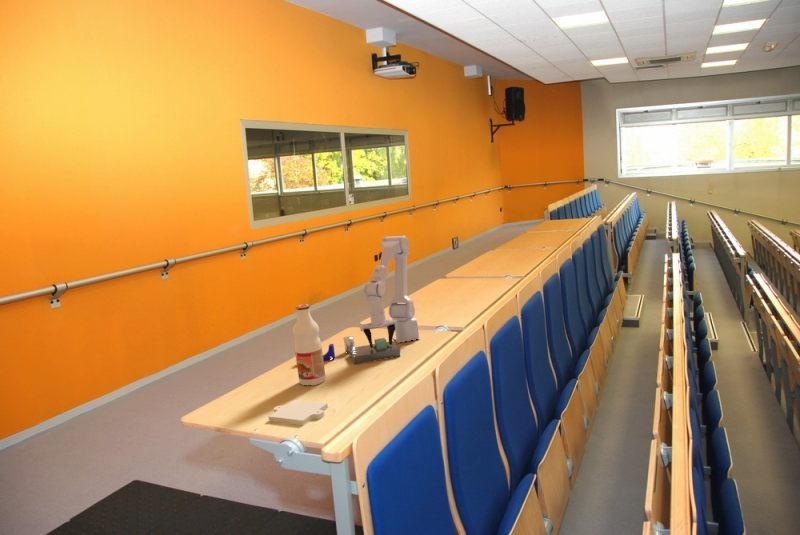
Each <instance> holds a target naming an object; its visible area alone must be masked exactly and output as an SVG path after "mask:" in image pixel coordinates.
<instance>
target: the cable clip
mask: <svg viewBox="0 0 800 535" xmlns="http://www.w3.org/2000/svg"><path fill="white" fill-rule="evenodd" d="M331 358H333V359H332V360H330V359H331ZM335 359H336V354H335V345H334V343H329V345H328V350H327V352H326V353H325V354H323V361H324V362H327V361H326V360H330V361H335Z"/></svg>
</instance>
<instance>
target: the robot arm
mask: <svg viewBox="0 0 800 535" xmlns="http://www.w3.org/2000/svg"><path fill="white" fill-rule="evenodd" d="M381 249H382V253H381V257H380V260H379V264H378V265H376V266H375V267H374V269H373V272H372V274H371V277H370V279H369V281H368V282H367V283H366V284H365V286H364V290H363V291H364V292H363V293H364V296H365V297H366V301H367V302H368V306H369V316H370V318H369V319H370V322H369V323H365V324H360V325H359V328H360V329H359V330H360V331H361V332H363V333H364V335H365V337H366V339H367V340H368V343H369V344H368V345H370V347H371V348H373V339H372V332H371V330H375V329H381V328H386V329H387V334H388V342H389V344H390V345H392V341H393V339H394V341H395V340H396V341H395V342H396V343H397V344H401V343H400V342H402V343H406V342H405V341H407V342H412V341H411V340H413V341H417V340H416V339H419V340H420V336H419V326H418V321H417V318H416V317H414V316H415V313H416V312H415V311H416V309H415V304H414V300H413V299H412V298H411V297H409V296H408V264H407V263H408V259H407V258H408V256H409V255H410V242H409V239H408V238H407V236H406V235H400V236H399V235H398V236H397V235H396V236H384V237H383V238H382V240H381ZM392 259H394V296H393V298H391V299H390V300H389V307H388V315H389V317H390V318H391V319H389V320H386V314H385V303H384V295H385V293H386V281H387V278H388V276H389V270H388V267H389V265H390V263H391V262H392ZM394 335H395V337H394Z"/></svg>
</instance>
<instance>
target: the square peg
mask: <svg viewBox="0 0 800 535" xmlns="http://www.w3.org/2000/svg"><path fill="white" fill-rule="evenodd" d="M387 342H388V341H387V340H386V338H385V337H382V338H375V339H374V344H375V349H376V350H381V349H387Z"/></svg>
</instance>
